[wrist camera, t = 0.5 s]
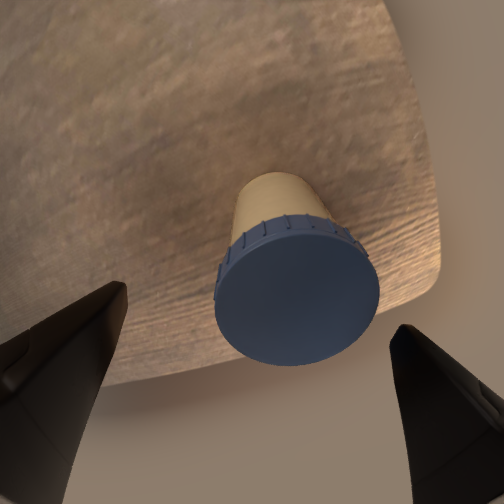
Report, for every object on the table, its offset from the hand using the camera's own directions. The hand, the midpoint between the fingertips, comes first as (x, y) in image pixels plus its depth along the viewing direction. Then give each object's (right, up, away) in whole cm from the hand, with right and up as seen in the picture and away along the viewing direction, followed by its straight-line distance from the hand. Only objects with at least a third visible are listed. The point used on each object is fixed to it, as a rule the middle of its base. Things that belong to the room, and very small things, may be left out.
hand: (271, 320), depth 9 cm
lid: (+1, 0, +3) cm, 3 cm away
